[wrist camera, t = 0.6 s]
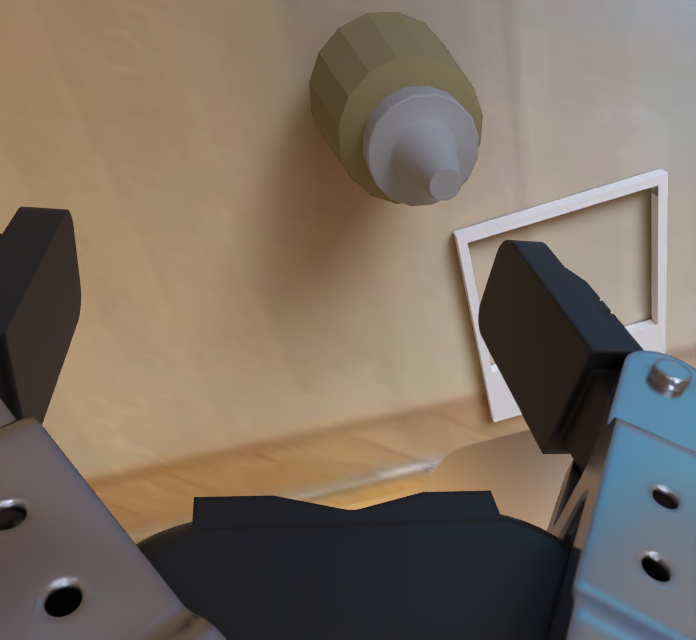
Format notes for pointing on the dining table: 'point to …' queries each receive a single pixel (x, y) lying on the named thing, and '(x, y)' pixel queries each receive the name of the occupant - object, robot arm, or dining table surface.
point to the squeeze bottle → (396, 109)
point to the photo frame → (645, 332)
